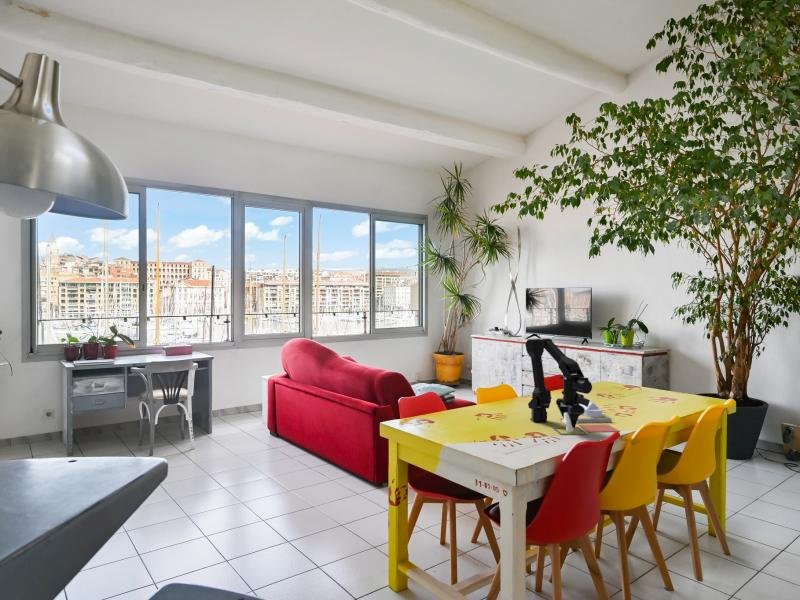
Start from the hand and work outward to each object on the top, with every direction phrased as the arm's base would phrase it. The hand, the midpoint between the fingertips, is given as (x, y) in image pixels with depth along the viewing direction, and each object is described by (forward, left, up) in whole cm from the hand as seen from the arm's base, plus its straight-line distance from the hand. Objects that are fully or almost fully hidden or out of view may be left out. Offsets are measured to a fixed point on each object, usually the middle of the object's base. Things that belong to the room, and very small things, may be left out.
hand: (569, 424), depth 234 cm
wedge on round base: (+22, +31, -3) cm, 38 cm away
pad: (+15, +4, -3) cm, 16 cm away
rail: (+14, +16, -3) cm, 21 cm away
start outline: (0, 0, -3) cm, 3 cm away
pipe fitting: (0, 0, -3) cm, 3 cm away
